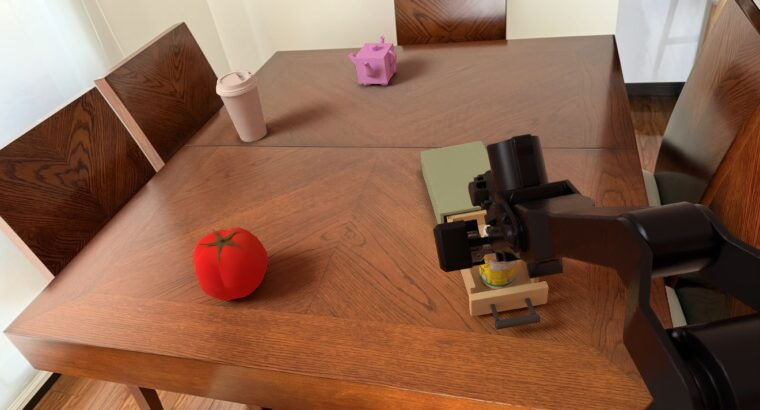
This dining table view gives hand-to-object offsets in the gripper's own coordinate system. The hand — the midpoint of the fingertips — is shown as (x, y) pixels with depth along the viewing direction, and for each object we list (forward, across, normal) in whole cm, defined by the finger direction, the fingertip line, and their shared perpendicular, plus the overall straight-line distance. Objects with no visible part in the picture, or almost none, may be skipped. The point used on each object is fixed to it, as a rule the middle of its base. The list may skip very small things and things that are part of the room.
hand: (495, 239), depth 72 cm
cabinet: (+20, 0, -9) cm, 22 cm away
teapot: (+59, +11, -48) cm, 77 cm away
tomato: (+12, +41, 0) cm, 43 cm away
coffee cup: (+46, +43, -35) cm, 72 cm away
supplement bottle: (+4, 0, +6) cm, 7 cm away
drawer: (+6, 0, +5) cm, 8 cm away
